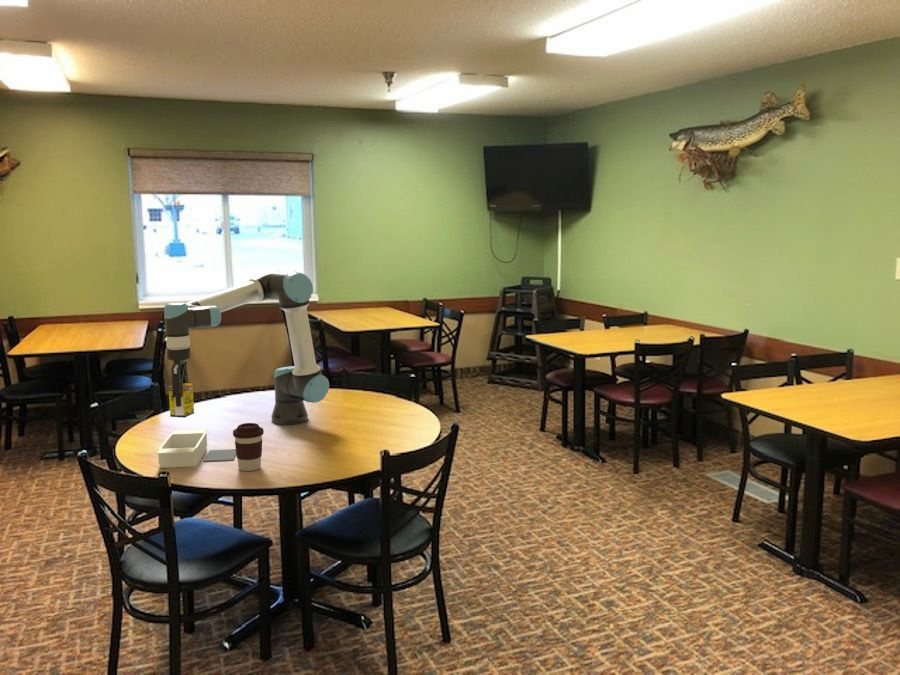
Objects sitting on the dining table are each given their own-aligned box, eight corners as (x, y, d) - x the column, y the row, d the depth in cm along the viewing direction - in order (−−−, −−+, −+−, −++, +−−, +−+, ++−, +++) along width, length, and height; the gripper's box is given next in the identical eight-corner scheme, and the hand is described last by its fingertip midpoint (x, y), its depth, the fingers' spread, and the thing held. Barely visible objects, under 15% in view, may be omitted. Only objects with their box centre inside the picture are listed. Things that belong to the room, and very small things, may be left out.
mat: (237, 450, 255) (237, 448, 255) (233, 460, 244) (233, 459, 244) (209, 451, 254) (209, 450, 254) (203, 461, 242) (203, 460, 242)
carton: (209, 446, 260) (208, 429, 259) (195, 470, 234) (194, 451, 233) (173, 447, 258) (172, 430, 257) (156, 471, 232) (155, 453, 231)
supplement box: (185, 418, 240) (183, 387, 238) (169, 417, 241) (167, 386, 239) (194, 413, 246) (193, 383, 244) (179, 412, 247) (177, 382, 245)
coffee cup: (237, 463, 240) (236, 421, 238) (267, 463, 241) (265, 421, 239) (231, 473, 231) (229, 429, 228) (261, 472, 232) (260, 429, 229)
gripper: (173, 343, 249) (177, 405, 253) (159, 353, 229) (164, 420, 233) (195, 342, 250) (198, 404, 254) (183, 352, 230) (187, 419, 234)
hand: (182, 411), depth 243 cm, fingers closed on supplement box, 7 cm apart
